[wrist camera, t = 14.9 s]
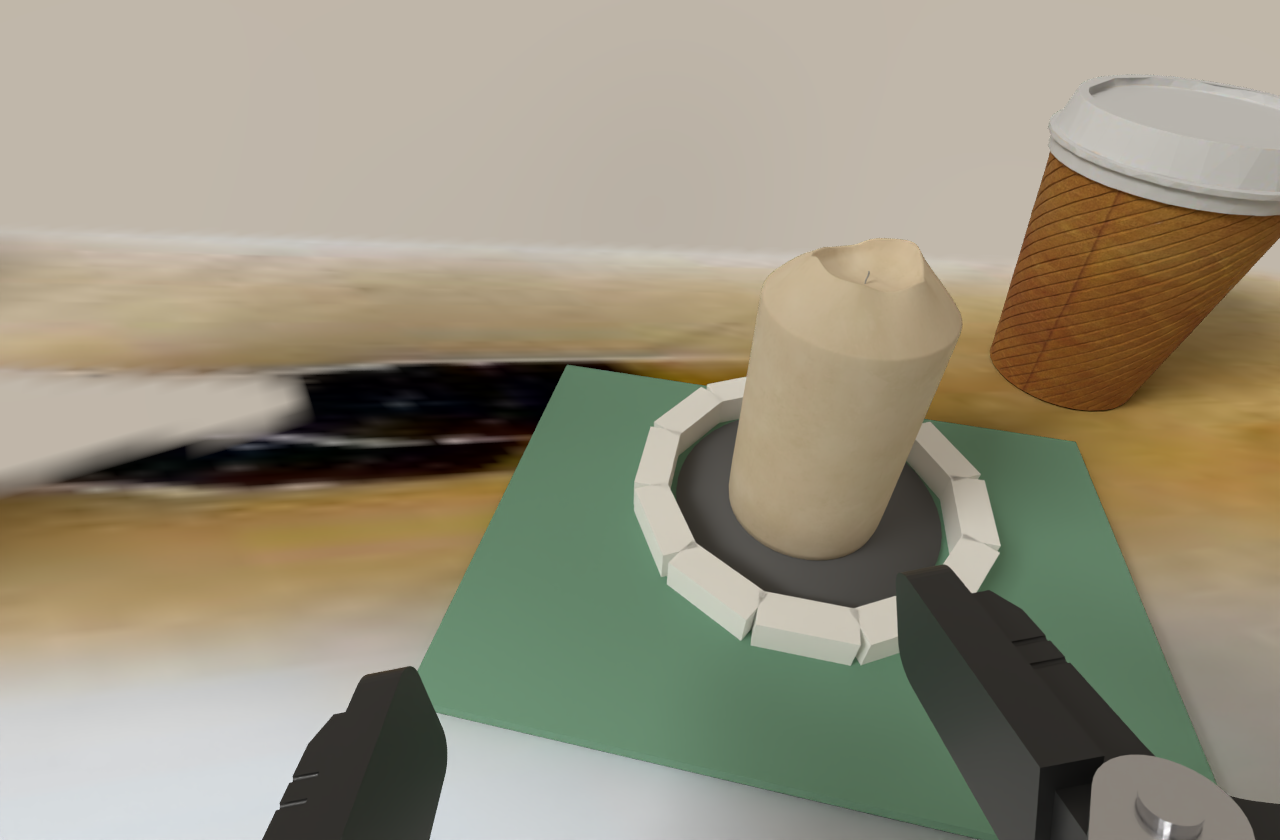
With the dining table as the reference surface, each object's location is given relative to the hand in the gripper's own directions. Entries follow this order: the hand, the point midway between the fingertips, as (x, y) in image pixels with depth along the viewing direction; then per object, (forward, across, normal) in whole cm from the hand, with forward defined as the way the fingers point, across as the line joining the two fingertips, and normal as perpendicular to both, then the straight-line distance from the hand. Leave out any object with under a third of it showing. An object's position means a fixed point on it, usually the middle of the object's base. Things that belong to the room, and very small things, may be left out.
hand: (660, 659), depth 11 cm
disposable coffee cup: (+21, -20, +7) cm, 30 cm away
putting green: (+11, -5, +7) cm, 14 cm away
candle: (+12, -5, +6) cm, 15 cm away
